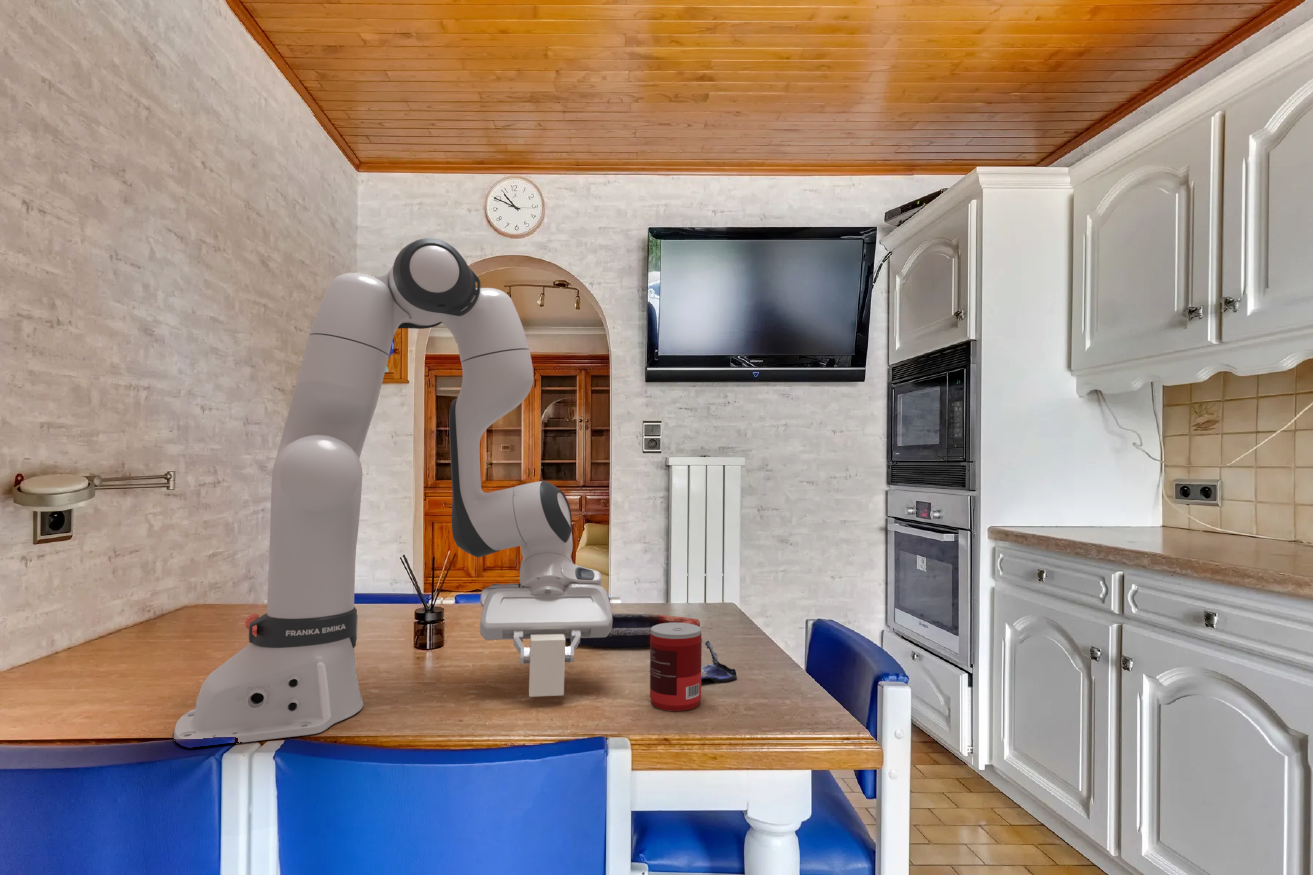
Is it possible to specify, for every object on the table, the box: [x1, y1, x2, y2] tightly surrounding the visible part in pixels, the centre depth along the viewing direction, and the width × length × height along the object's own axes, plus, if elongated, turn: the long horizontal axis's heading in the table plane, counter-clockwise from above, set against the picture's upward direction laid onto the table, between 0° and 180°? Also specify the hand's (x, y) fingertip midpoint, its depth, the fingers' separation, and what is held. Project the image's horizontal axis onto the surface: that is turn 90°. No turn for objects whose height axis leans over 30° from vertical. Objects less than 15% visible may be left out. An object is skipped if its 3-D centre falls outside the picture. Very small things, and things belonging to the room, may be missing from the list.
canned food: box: [649, 623, 703, 712], centre depth 100 cm, size 8×8×11 cm
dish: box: [565, 613, 701, 649], centre depth 137 cm, size 16×31×5 cm, turn 88°
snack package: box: [701, 640, 738, 684], centre depth 114 cm, size 12×6×12 cm
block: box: [528, 634, 566, 697], centre depth 100 cm, size 4×5×8 cm
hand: (547, 661), depth 100 cm, fingers closed on block, 5 cm apart
